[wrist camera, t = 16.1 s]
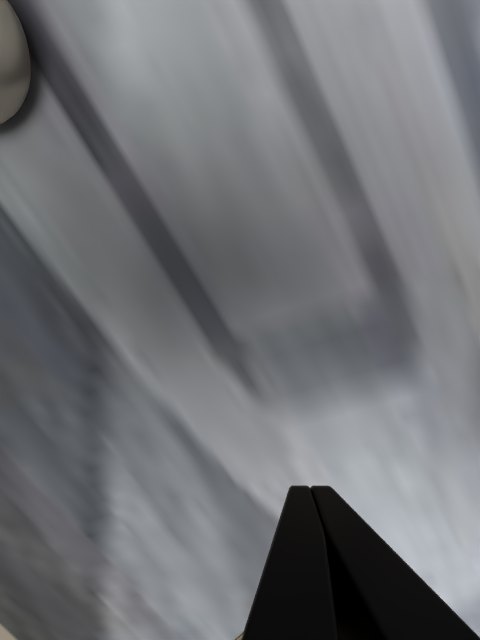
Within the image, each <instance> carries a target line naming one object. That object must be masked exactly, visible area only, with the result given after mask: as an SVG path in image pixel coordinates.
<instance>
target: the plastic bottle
mask: <svg viewBox="0 0 480 640" xmlns="http://www.w3.org/2000/svg"><path fill="white" fill-rule="evenodd" d="M30 77H31V69H30V55H29V49H28V44H27V39H26V36H25V33H24V30H23V28H22V25H21V22H20V20H19V19H18V17H17V15H16V13H15V11H14V10H13V8H12V6H11V5H10V4H9V2H8V1H7V0H0V124H2V123H4V122H5V121H7V120H8V119H9V118H11V117H12V116H14V114H15V113H16V112H17V111H18V110H19V109H20V108H21V106H22V104H23V102H24V100H25V99H26V96H27V93H28V89H29V85H30Z"/></svg>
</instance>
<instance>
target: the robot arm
mask: <svg viewBox="0 0 480 640" xmlns="http://www.w3.org/2000/svg"><path fill="white" fill-rule="evenodd" d="M241 640H480V637H479V636H478V635H477V634H476V633H475V632H474V631H473V630H472V629H471V628H470V627H469V626H468V625H467V624H466V623H465V622H464V621H463V620H462V619H461V618H460V617H459V616H458V615H457V614H456V613H455V612H454V611H453V610H452V609H451V608H450V607H449V606H448V605H447V604H446V603H445V602H444V601H443V600H442V599H441V598H440V597H439V596H438V595H437V594H436V593H435V592H434V591H433V590H432V589H431V588H430V587H429V586H428V585H427V584H426V583H425V582H424V581H423V580H422V579H421V578H420V577H419V576H418V575H417V574H416V573H415V572H414V571H413V569H412V568H411V567H410V566H409V565H408V564H407V563H406V562H405V561H404V560H403V559H402V558H401V557H400V556H399V555H398V554H397V553H396V552H395V551H394V550H393V549H392V548H391V547H390V546H389V545H388V544H387V543H386V542H385V541H384V540H383V539H382V538H381V537H380V536H379V535H378V534H377V533H376V532H375V531H374V530H373V529H372V528H371V527H370V526H369V525H368V524H367V523H366V522H365V521H364V520H363V519H362V518H361V517H360V516H359V515H358V514H357V513H356V512H355V511H354V510H353V509H352V508H351V507H350V506H349V505H348V504H347V503H346V502H345V501H344V500H343V498H342V497H341V496H340V495H339V494H338V493H337V492H336V491H335V490H334V489H333V488H332V487H330V486H312V487H311V488H309V487H308V486H291V487H290V488H289V491H288V494H287V497H286V500H285V503H284V506H283V509H282V513H281V516H280V519H279V522H278V525H277V528H276V532H275V535H274V538H273V541H272V544H271V547H270V551H269V554H268V557H267V560H266V563H265V566H264V569H263V573H262V576H261V579H260V582H259V585H258V588H257V592H256V595H255V598H254V601H253V604H252V607H251V611H250V614H249V617H248V620H247V623H246V626H245V630H244V633H243V636H242V639H241Z"/></svg>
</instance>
